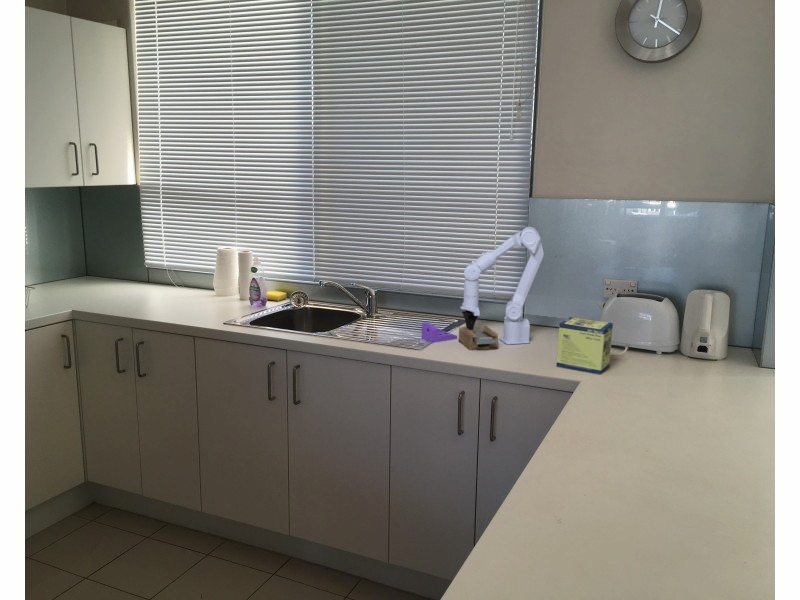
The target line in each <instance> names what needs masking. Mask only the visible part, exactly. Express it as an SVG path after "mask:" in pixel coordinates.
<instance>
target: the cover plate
mask: <svg viewBox="0 0 800 600" xmlns="http://www.w3.org/2000/svg"><path fill="white" fill-rule="evenodd" d="M472 332H473V333H474V334H476V337H473V342H474V343H475V344H492V343H497V339H496V338H494V337H493V336H490V335H489V334H487V333H486V332H485V331H483V330H481V331H472Z"/></svg>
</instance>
